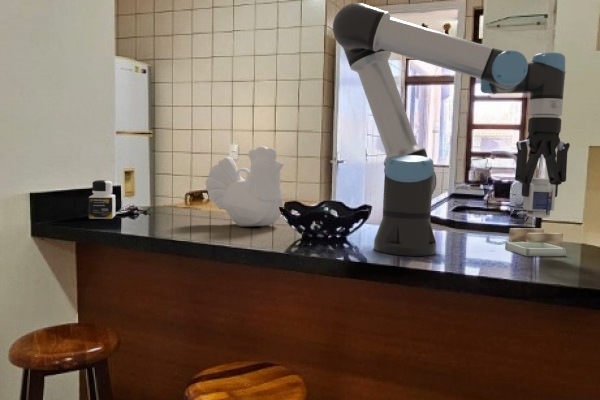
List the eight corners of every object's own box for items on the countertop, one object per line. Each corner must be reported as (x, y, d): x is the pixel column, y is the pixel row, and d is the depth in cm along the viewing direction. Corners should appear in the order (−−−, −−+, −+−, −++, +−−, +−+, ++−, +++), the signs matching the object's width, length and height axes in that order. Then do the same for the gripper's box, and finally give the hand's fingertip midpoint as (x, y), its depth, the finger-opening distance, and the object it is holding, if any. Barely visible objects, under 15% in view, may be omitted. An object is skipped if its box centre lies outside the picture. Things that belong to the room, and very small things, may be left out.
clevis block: (528, 248, 140) (529, 233, 140) (508, 242, 149) (509, 228, 149) (561, 248, 142) (563, 233, 142) (540, 242, 151) (541, 228, 150)
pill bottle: (552, 218, 130) (555, 179, 129) (529, 217, 131) (531, 178, 130) (546, 216, 135) (549, 178, 135) (524, 215, 137) (527, 177, 136)
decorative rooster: (291, 226, 166) (294, 147, 164) (266, 232, 152) (269, 146, 150) (226, 218, 178) (228, 145, 175) (197, 224, 163) (198, 143, 161)
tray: (525, 256, 129) (526, 248, 129) (504, 249, 138) (505, 242, 137) (565, 255, 131) (566, 248, 131) (542, 248, 140) (543, 242, 140)
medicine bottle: (88, 218, 167) (88, 181, 166) (92, 215, 174) (92, 179, 173) (112, 218, 168) (112, 181, 167) (115, 216, 175) (115, 180, 174)
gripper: (520, 114, 126) (514, 211, 128) (588, 117, 129) (580, 211, 131) (502, 116, 133) (497, 207, 135) (567, 119, 137) (560, 208, 139)
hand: (538, 209), depth 133 cm, fingers closed on pill bottle, 5 cm apart
